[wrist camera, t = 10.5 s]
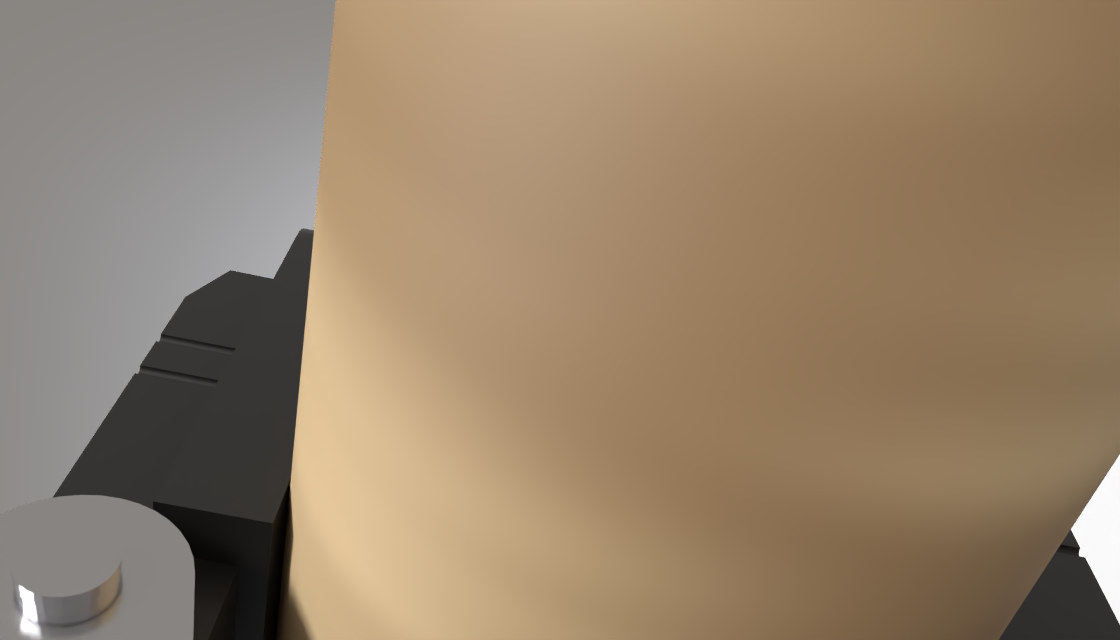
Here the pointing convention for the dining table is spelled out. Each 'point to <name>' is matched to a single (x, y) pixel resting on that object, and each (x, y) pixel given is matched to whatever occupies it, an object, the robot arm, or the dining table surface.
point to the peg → (704, 318)
